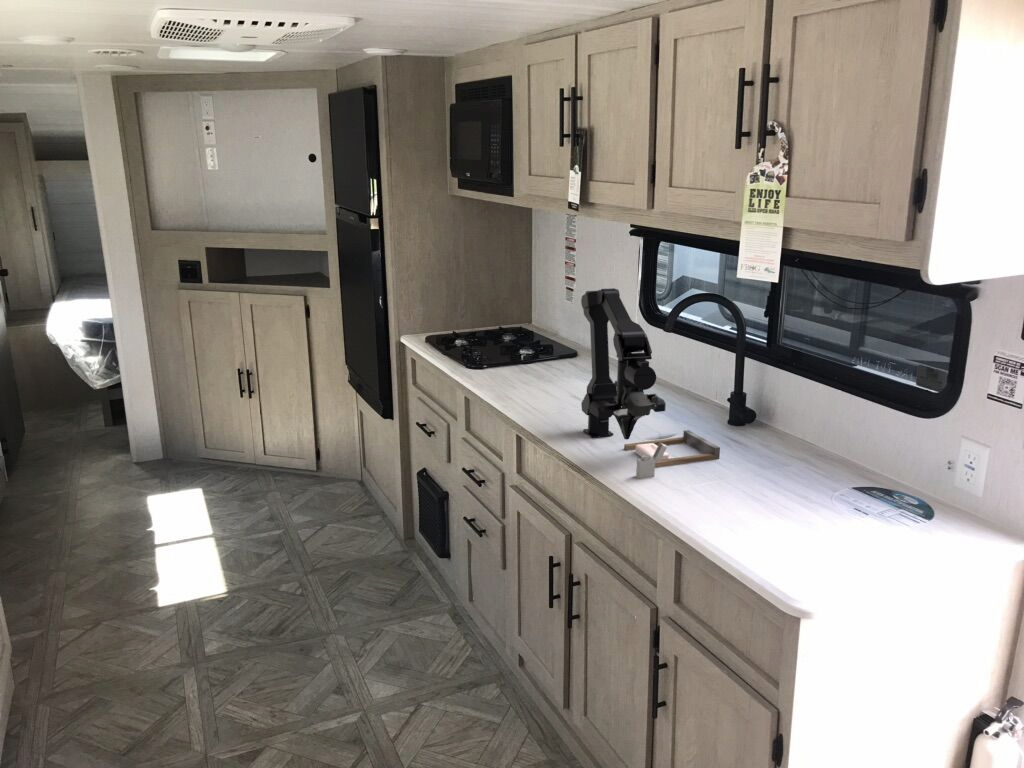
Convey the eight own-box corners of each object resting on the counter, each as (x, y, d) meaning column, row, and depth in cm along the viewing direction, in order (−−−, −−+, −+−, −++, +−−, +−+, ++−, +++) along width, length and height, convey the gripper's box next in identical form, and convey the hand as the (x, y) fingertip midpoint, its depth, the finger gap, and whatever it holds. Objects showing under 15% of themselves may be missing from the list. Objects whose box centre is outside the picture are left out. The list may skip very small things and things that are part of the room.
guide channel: (624, 448, 226) (624, 437, 225) (687, 440, 232) (688, 430, 232) (652, 467, 212) (653, 456, 212) (719, 458, 219) (720, 447, 218)
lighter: (638, 478, 205) (640, 446, 203) (635, 476, 207) (637, 444, 205) (665, 475, 208) (667, 444, 205) (662, 473, 209) (664, 441, 207)
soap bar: (653, 451, 226) (654, 442, 225) (669, 462, 217) (669, 453, 217) (634, 452, 224) (635, 443, 223) (649, 464, 216) (650, 455, 215)
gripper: (609, 391, 202) (607, 453, 206) (678, 384, 208) (675, 444, 213) (589, 379, 212) (587, 439, 216) (655, 373, 218) (653, 431, 223)
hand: (626, 439), depth 217 cm, fingers closed
